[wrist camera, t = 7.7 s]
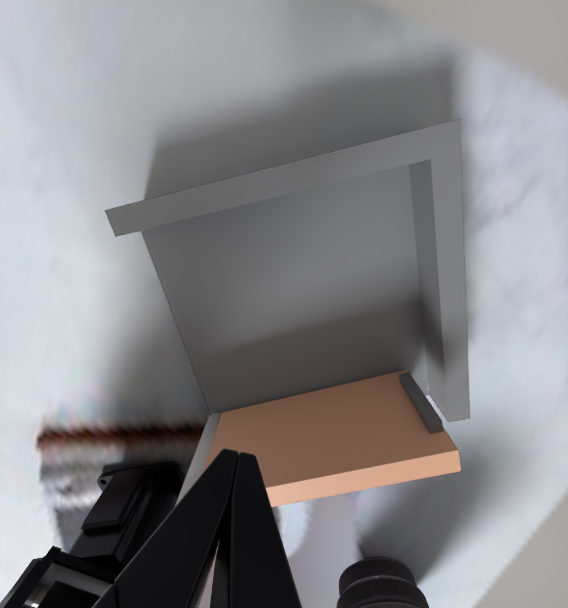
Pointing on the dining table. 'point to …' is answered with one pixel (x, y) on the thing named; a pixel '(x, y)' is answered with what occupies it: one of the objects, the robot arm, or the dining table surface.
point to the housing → (319, 272)
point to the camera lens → (379, 586)
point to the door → (334, 439)
